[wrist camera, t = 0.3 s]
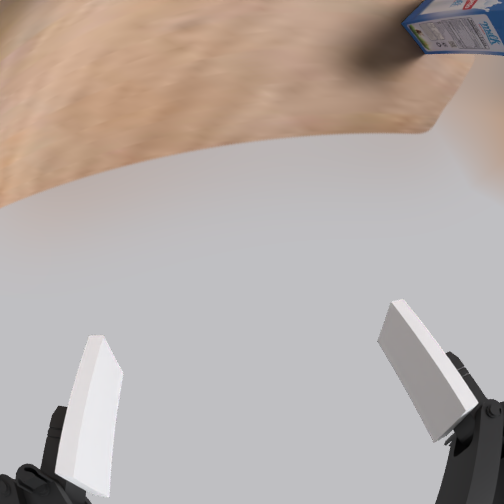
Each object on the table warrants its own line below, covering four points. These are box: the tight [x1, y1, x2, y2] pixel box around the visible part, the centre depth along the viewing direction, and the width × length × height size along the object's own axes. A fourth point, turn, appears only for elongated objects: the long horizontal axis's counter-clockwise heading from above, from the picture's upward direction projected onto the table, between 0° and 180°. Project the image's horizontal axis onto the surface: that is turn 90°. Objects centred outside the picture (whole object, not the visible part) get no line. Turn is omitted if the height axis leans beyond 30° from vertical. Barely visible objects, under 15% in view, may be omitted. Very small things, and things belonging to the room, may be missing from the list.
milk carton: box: [401, 0, 504, 56], centre depth 18 cm, size 10×6×20 cm, turn 141°
